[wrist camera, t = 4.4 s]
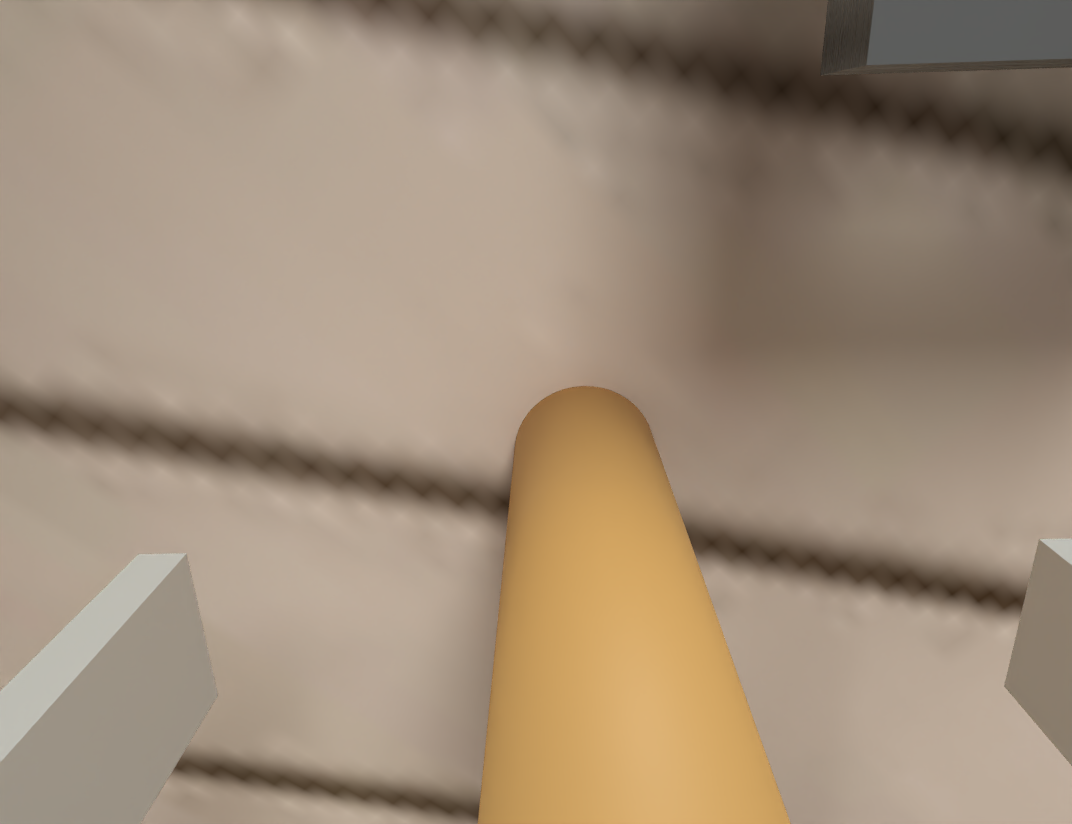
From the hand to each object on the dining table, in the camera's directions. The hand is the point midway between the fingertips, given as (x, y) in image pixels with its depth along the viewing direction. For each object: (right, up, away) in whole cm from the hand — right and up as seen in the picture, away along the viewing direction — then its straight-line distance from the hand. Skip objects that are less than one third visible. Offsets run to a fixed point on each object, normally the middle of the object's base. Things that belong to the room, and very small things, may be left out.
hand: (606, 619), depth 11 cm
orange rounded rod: (0, +2, +5) cm, 6 cm away
